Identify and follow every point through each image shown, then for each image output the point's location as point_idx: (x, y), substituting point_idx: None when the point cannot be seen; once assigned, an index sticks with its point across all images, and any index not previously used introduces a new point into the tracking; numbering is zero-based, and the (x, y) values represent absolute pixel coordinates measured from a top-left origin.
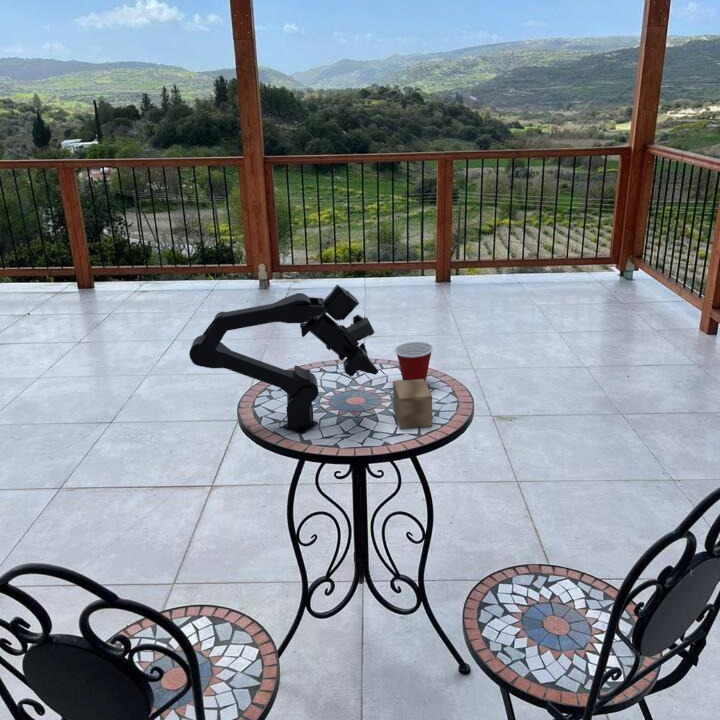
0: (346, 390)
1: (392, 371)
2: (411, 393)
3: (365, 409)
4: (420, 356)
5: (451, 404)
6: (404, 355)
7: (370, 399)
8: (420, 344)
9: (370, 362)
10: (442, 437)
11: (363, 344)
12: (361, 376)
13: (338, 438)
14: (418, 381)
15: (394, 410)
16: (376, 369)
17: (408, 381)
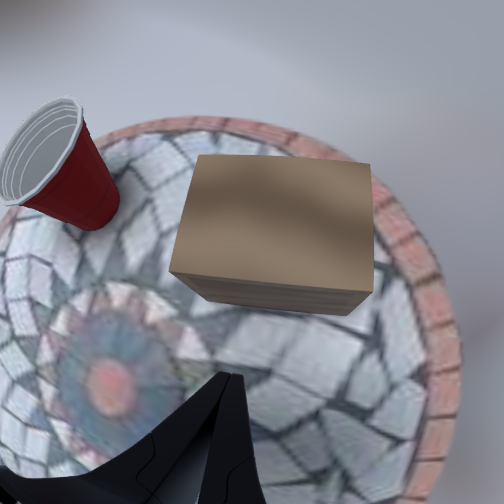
0: (52, 382)
1: (21, 237)
2: (329, 228)
3: (172, 383)
4: (80, 130)
5: (226, 146)
6: (45, 177)
7: (115, 343)
8: (24, 131)
9: (254, 467)
10: (408, 215)
11: (21, 502)
12: (11, 313)
13: (345, 498)
14: (213, 174)
15: (230, 302)
16: (244, 392)
17: (197, 210)
